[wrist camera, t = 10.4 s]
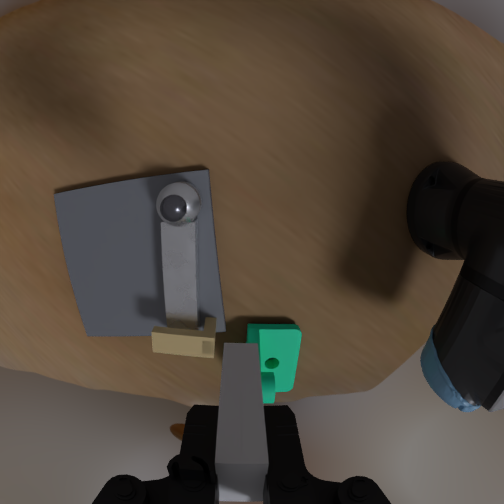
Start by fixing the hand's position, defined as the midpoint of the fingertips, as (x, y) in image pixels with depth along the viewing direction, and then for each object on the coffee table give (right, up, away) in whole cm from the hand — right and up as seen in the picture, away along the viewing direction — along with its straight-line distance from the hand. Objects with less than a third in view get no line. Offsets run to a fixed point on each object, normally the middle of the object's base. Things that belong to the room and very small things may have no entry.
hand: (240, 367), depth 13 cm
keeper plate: (-15, +4, +26) cm, 30 cm away
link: (-8, +4, +25) cm, 26 cm away
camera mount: (+3, -10, +32) cm, 34 cm away
